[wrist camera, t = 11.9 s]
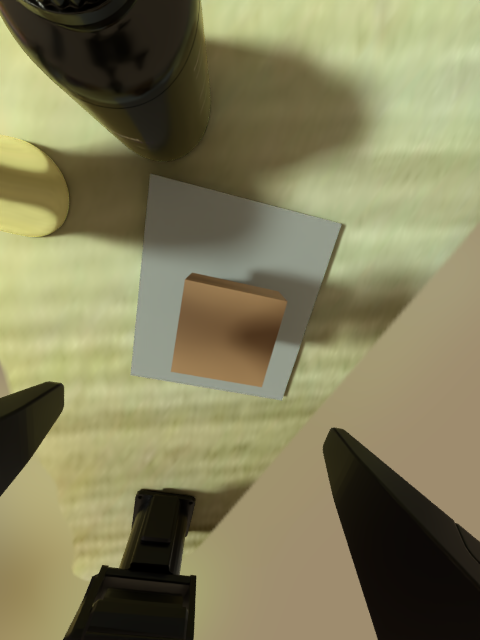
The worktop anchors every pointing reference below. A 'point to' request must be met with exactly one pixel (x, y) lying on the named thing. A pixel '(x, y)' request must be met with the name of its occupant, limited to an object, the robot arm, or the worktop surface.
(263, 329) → the walnut stool
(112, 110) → the supplement bottle
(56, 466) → the worktop surface
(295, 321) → the rubber mat
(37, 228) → the beer glass
